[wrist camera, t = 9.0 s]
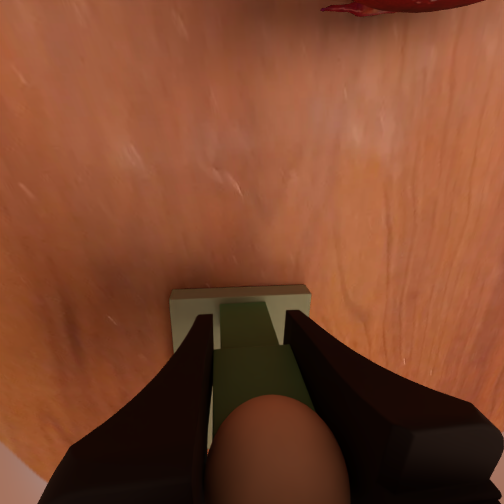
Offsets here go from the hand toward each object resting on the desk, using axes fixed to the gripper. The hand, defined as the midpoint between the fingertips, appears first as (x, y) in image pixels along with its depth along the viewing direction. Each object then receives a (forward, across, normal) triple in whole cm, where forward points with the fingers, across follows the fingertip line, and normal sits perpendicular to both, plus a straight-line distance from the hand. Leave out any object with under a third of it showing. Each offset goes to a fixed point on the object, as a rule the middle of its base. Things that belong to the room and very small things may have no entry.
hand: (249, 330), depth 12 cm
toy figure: (-2, 0, +2) cm, 3 cm away
